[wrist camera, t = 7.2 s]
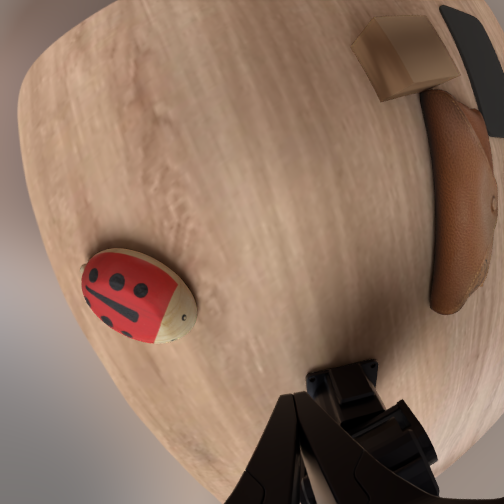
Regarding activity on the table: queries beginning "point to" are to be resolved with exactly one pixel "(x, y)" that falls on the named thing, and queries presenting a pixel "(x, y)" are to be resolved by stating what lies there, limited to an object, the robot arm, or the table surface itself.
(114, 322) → the ladybug figurine
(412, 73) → the walnut block
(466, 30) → the phone
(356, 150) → the table surface
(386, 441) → the robot arm
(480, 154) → the sunglasses case
